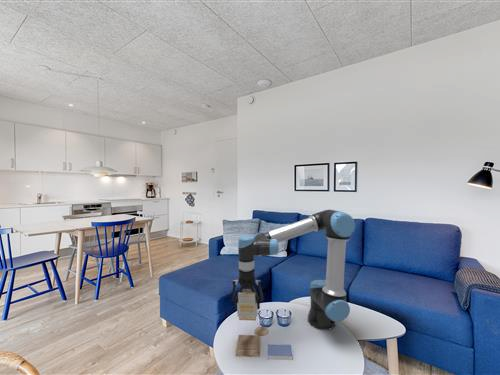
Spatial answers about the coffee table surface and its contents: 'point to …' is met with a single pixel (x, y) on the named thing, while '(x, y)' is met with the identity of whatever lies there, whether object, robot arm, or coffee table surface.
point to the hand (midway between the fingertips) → (247, 315)
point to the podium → (248, 345)
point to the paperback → (280, 352)
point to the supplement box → (247, 305)
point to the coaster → (261, 331)
